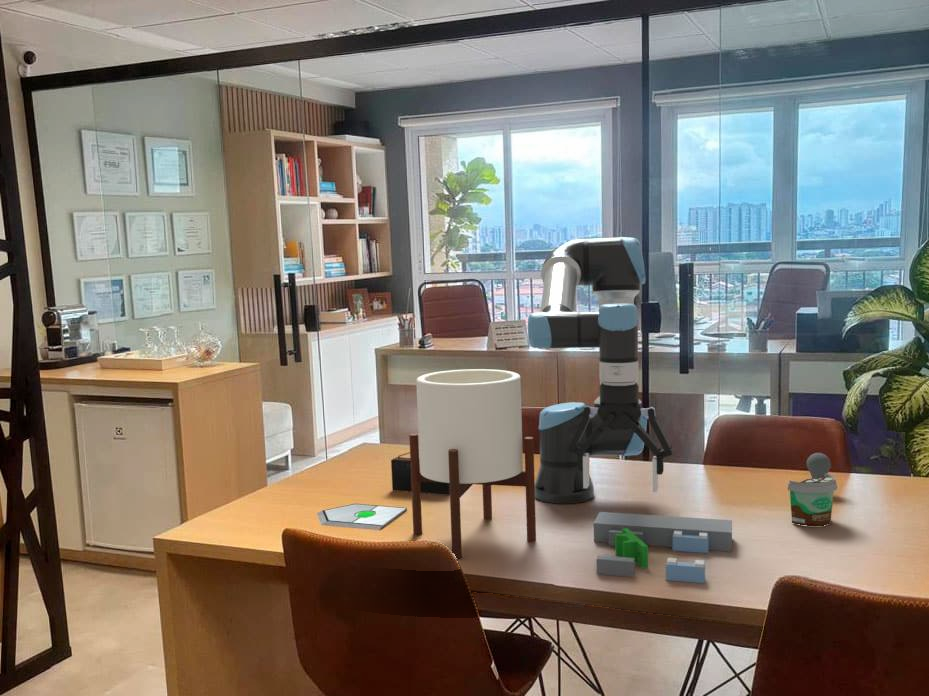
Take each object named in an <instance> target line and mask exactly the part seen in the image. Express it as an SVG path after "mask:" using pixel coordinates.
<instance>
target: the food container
mask: <svg viewBox="0 0 929 696" xmlns="http://www.w3.org/2000/svg"><path fill="white" fill-rule="evenodd" d="M835 478H836V477H834V475H832V474H830V473H825V474H824V477H821V478H817V479H812V478H806V479H803V480H802V481H800V482H799V481H795V480H794V481H793V480H789V481H788V484H787V485H788V486H787V490H788V491H789V497H790V514H791V524H792V523H795V524H800V525H807V526H823V527H825V526H824V525H827V524H829V523H830V522H832V521H831V520H832V512H833V502H834V492H835V491H837V489H838V485H837V481H836V479H835ZM795 524H794V525H795ZM830 524H831V523H830ZM830 524H829V525H830ZM827 526H828V525H827Z"/></svg>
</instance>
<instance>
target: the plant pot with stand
mask: <svg viewBox="0 0 929 696" xmlns="http://www.w3.org/2000/svg"><path fill="white" fill-rule="evenodd" d="M521 380H522V379H521V375H520V374H519V373H517V372H514V371H512V370H511V371H510V370H503V369H486V368H481V369H480V368H477V369H476V368H475V369H474V368H472V369H470V368H469V369H452V370H442V371H434V372H430V373H425V374H423V375H420V376H418V377H417V378H416V379H415V384H416V386H415V387H416V405H417V406H416V410H417V431H418V433H415V432H414V433H410V434H409V435H408V436H409V438H408V439H409V452H410V453H409V458H410V463H411V487H412V492H411V504H412V505H411V507H412V508H411V509H412V527H413V530H412V531H413V533H412V534H413V535H415V536H420V535H423V523H422V522H423V521H422V520H423V519H422V516H423V515H422V499H421V497H422V495H421V494H422V493H421V491H420V482H435V483H449V484H450V495H449V502H450V503H449V504H450V505H449V506H450V508H449V509H450V530H451V531H450V533H451V536H450V537H451V538H450V539H451V553H452V552H453V553H454V554H455V556H456V558H457V559H458V560H462V558H463V556H462V555H463V553H462V551H463V550H462V549H463V547H462V525H461V524H462V523H461V498H462V497H463V496H464V494H465V493H467V491H468V490H469V489H470V488H471V487H472V486H473V485H479V486H480V485H482V507H483V509H482V511H483V519H484V520H485V521H489V520H490V521H491V520H492V519H493V505H492V497H493V496H492V486H503V487H504V486H507V487H525V509H526V510H525V512H526V517H525V518H526V541H527V542H529V543H533V542H536V541H537V527H536V525H537V524H536V522H537V521H536V498H535V482H536V480H535V479H536V477H535V451H534V450H535V449H534V448H535V446H534V442H535V441H534V437H533V436H525V437H524V439H523V425H522V424H523V423H522V422H523V420H522V418H523V417H522V385H521V382H522V381H521ZM523 440H524V453H523ZM523 454H524V456H523ZM523 459H524V460H523ZM419 461H420V467H419ZM523 462H524V463H523ZM523 470H524V471H523ZM458 560H457V561H458Z"/></svg>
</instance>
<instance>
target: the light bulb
mask: <svg viewBox="0 0 929 696" xmlns="http://www.w3.org/2000/svg"><path fill="white" fill-rule="evenodd" d="M806 467H807V469H808V471H809V474H810V475H811V479H817V478H821V477H824V474H825V473H827V474H829V472H830V470H831V467H832V463H831V459H830V458H829V457H828V456H827V455H826V454H824V453H822V452H815V453H813V454H812V453H811V454H810V456H808V457H807V460H806Z"/></svg>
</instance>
